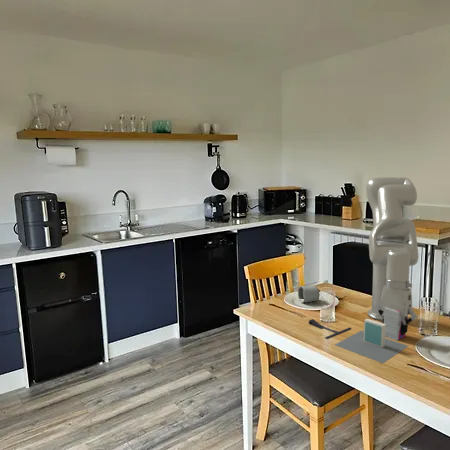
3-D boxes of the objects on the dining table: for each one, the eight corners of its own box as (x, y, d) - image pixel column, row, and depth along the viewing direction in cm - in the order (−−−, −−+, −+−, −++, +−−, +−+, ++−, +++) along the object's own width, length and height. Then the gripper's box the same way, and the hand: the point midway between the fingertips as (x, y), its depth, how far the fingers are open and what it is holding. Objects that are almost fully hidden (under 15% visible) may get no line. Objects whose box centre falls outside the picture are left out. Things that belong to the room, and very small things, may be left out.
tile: (366, 339, 145) (367, 318, 144) (384, 346, 140) (385, 324, 139) (363, 341, 144) (364, 320, 143) (381, 347, 139) (382, 325, 137)
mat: (361, 331, 153) (361, 330, 153) (408, 347, 140) (408, 345, 140) (334, 346, 142) (334, 344, 142) (382, 365, 128) (382, 363, 128)
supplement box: (397, 342, 144) (398, 311, 142) (382, 336, 149) (383, 307, 147) (406, 337, 147) (407, 308, 146) (391, 332, 152) (392, 303, 150)
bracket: (321, 320, 167) (321, 314, 166) (351, 332, 155) (352, 325, 154) (297, 329, 158) (297, 323, 158) (327, 342, 146) (327, 335, 146)
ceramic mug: (320, 303, 185) (320, 287, 184) (304, 305, 183) (304, 288, 182) (310, 296, 195) (310, 281, 194) (294, 298, 193) (294, 282, 192)
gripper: (426, 287, 141) (422, 335, 144) (379, 276, 154) (377, 321, 157) (416, 291, 136) (413, 341, 139) (369, 280, 149) (367, 326, 152)
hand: (394, 330), depth 148 cm, fingers closed on supplement box, 6 cm apart
